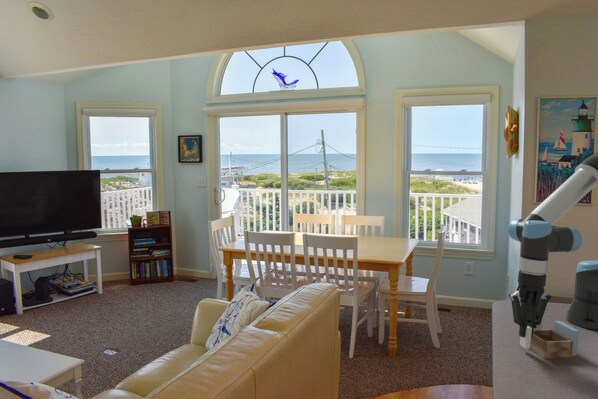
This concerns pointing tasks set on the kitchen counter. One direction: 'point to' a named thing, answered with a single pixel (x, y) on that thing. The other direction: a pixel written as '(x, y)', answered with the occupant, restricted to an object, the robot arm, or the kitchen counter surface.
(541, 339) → the open wooden crate
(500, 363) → the kitchen counter surface
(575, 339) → the pale blue lid slab
